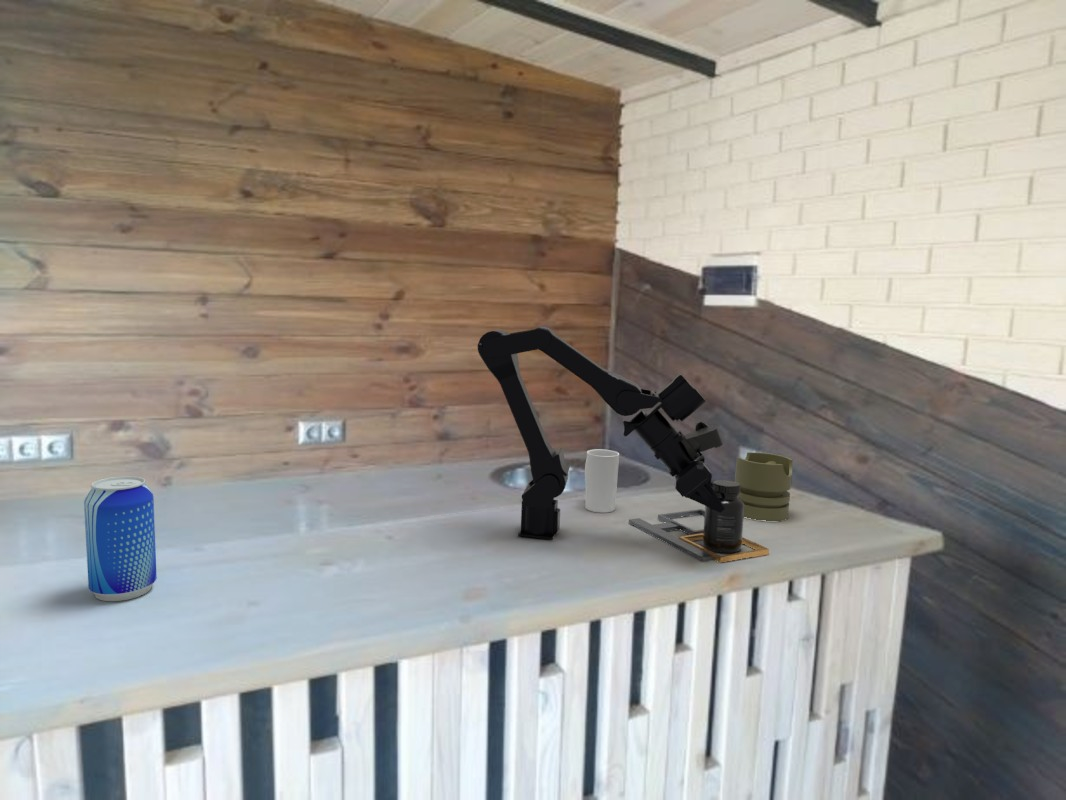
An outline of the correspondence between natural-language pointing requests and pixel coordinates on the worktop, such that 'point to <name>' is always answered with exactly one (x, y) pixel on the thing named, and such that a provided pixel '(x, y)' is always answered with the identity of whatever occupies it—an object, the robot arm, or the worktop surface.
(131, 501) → the beer can
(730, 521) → the supplement bottle
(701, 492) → the robot arm
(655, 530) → the silver gold metal frame
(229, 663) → the worktop surface
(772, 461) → the piston
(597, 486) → the mug
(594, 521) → the worktop surface
